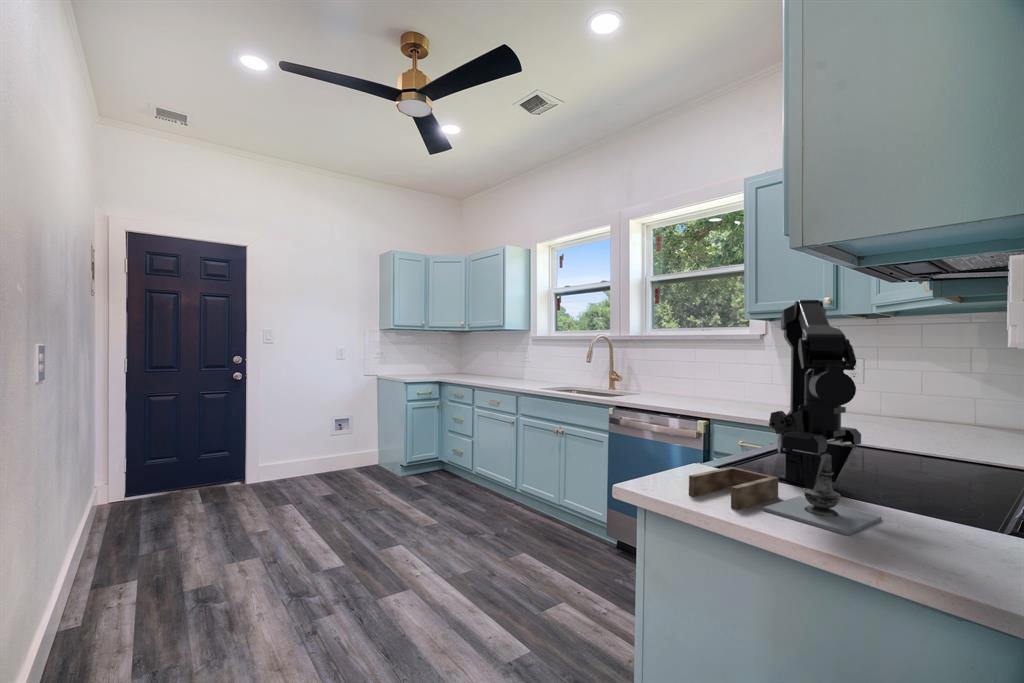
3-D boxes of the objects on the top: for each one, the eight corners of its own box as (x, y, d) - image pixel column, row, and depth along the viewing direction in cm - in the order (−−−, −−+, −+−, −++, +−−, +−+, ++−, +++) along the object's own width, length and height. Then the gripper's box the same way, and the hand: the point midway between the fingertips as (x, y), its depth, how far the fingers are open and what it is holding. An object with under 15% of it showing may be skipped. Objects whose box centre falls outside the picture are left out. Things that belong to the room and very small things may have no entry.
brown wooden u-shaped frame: (730, 484, 107) (730, 466, 107) (778, 497, 98) (778, 477, 98) (688, 494, 98) (689, 475, 98) (736, 509, 90) (737, 488, 90)
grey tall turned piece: (845, 519, 84) (847, 451, 84) (807, 515, 86) (809, 448, 86) (833, 508, 90) (834, 444, 90) (798, 505, 91) (799, 442, 92)
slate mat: (799, 498, 98) (799, 495, 98) (881, 519, 86) (881, 516, 86) (762, 510, 90) (763, 507, 90) (848, 535, 78) (848, 531, 78)
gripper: (800, 394, 100) (799, 469, 100) (752, 398, 90) (751, 481, 89) (862, 400, 91) (861, 482, 91) (817, 404, 80) (816, 497, 80)
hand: (821, 485), depth 88 cm, fingers open, 9 cm apart
